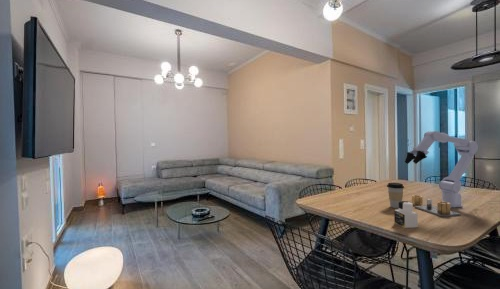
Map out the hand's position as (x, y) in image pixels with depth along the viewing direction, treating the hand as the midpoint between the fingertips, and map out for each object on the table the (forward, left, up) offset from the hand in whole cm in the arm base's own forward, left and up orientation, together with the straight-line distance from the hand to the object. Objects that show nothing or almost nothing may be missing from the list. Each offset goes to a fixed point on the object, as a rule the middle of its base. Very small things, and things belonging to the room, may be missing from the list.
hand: (410, 162), depth 145 cm
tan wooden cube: (-10, -6, -29) cm, 31 cm away
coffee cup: (+8, -4, -29) cm, 30 cm away
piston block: (-8, +9, -29) cm, 31 cm away
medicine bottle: (+27, +24, -29) cm, 46 cm away
